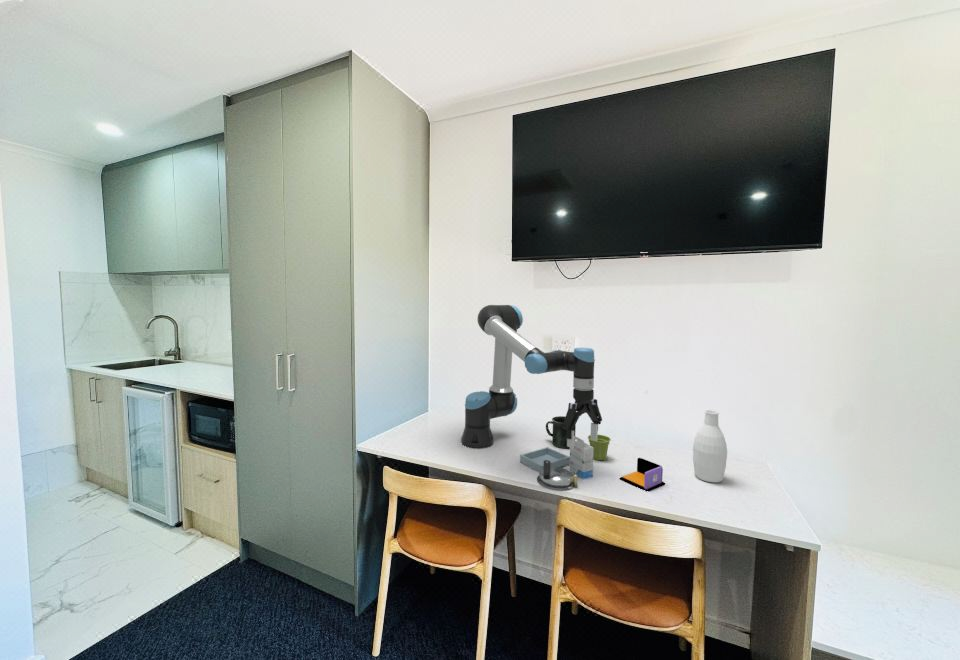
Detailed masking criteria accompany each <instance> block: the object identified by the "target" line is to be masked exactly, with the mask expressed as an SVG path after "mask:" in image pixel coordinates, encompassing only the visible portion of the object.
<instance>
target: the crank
mask: <svg viewBox="0 0 960 660" xmlns="http://www.w3.org/2000/svg"><path fill="white" fill-rule="evenodd" d="M550 463H551V462H550V461H549V460H544V469H542V470H541V471H540V473H539V475H540V480H541V482H542V483H544V484H546V485H548V486H551V487H557V488H564V487H568V486H571V485H572V484H573V478H574V473H573V472H572V471H570V470H567V469H565V468H563V467H562V468H558V467H550Z"/></svg>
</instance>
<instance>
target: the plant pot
mask: <svg viewBox="0 0 960 660" xmlns="http://www.w3.org/2000/svg"><path fill="white" fill-rule="evenodd" d="M587 439H588V442H589V445H590V446H592V447H594V449H593V460H597V461H606V459H607V455H608V450H609V445H610V442H611V441H612V439H611V437H610V436H608V435H603V434H598V436H597V441H594V440H592V439H591V434H590V435H588V436H587Z"/></svg>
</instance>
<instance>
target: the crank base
mask: <svg viewBox="0 0 960 660" xmlns="http://www.w3.org/2000/svg"><path fill="white" fill-rule="evenodd" d="M578 477H579V476H578V475H577V474H575V473H573V484H572V485H571V486H568V487H564V488H557V487H551V486H548V485H546V484H544V483H542V482H541V480H540V474H538V476H537V477H536V482H537V483H538V485H539V486H541V487H543V488H545V489H548V490H552V491H557V492H564V491H565V492H566V491H571V490H573V489H575V488H577V487H578Z"/></svg>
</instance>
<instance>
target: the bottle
mask: <svg viewBox="0 0 960 660" xmlns="http://www.w3.org/2000/svg"><path fill="white" fill-rule="evenodd" d="M719 414H720V413H719V412H718V411H716V410H710V409H709V410H705V411H704V420H703V424H702V425H701V427H700V428H699V429H698V430H697V432H696V435H695V437H694V440H693V445H692V462H693V471H694V475H695V477H697V478H698V479H699V480H701V481H705V482H707V483H714V484H716V483H721V482H722V481H723V479H724V476H725V472H726V467H727V460H728V448H727V442H726V438H725V436H724V433H723V431H722V430H721V427H720V426H719Z"/></svg>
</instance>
